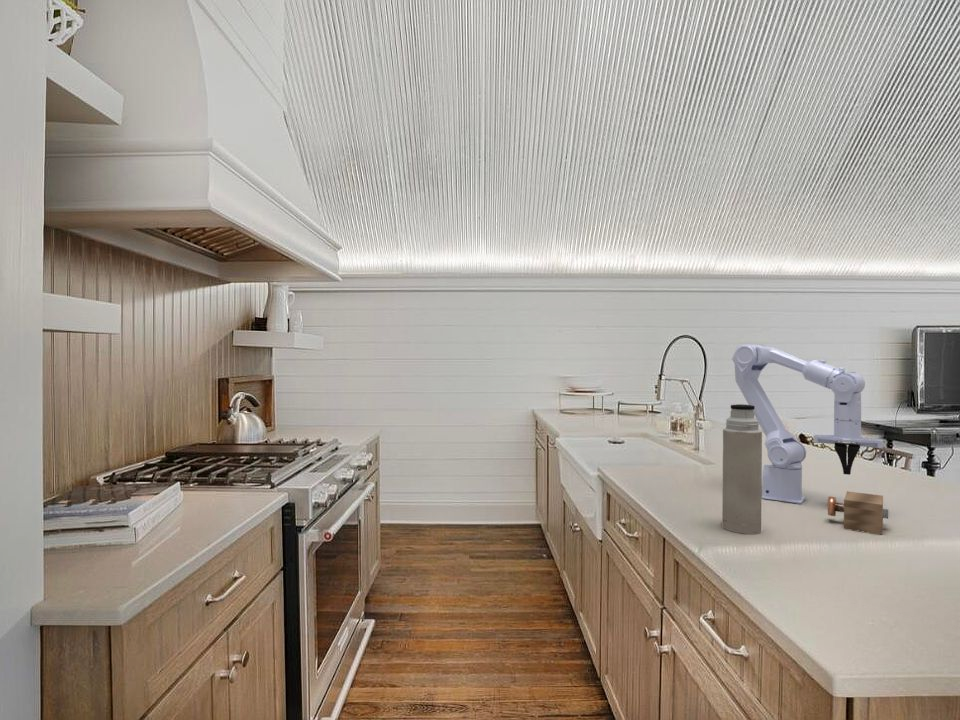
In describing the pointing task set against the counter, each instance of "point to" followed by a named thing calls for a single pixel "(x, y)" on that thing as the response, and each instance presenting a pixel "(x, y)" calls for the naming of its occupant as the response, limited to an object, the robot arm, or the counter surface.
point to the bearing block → (863, 512)
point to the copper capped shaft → (840, 508)
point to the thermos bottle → (742, 471)
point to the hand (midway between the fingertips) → (847, 473)
